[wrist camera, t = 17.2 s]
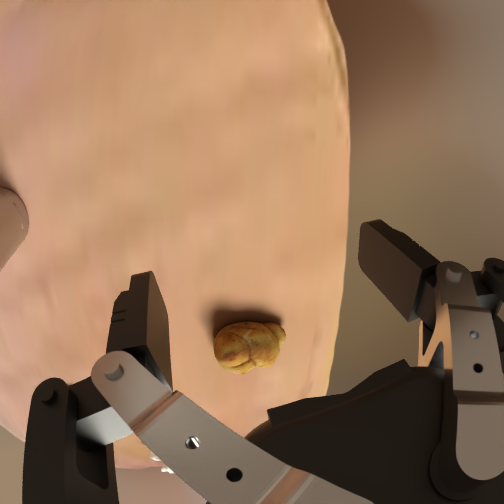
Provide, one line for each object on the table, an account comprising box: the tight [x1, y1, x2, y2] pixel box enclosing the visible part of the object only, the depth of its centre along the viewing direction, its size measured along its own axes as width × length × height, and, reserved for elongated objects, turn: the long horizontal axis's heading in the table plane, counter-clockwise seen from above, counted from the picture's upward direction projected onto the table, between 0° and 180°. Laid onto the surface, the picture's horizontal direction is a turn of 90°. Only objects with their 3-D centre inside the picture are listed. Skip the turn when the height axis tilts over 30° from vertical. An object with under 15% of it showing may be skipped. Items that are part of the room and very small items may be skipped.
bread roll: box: [213, 321, 286, 374], centre depth 49 cm, size 13×10×8 cm
